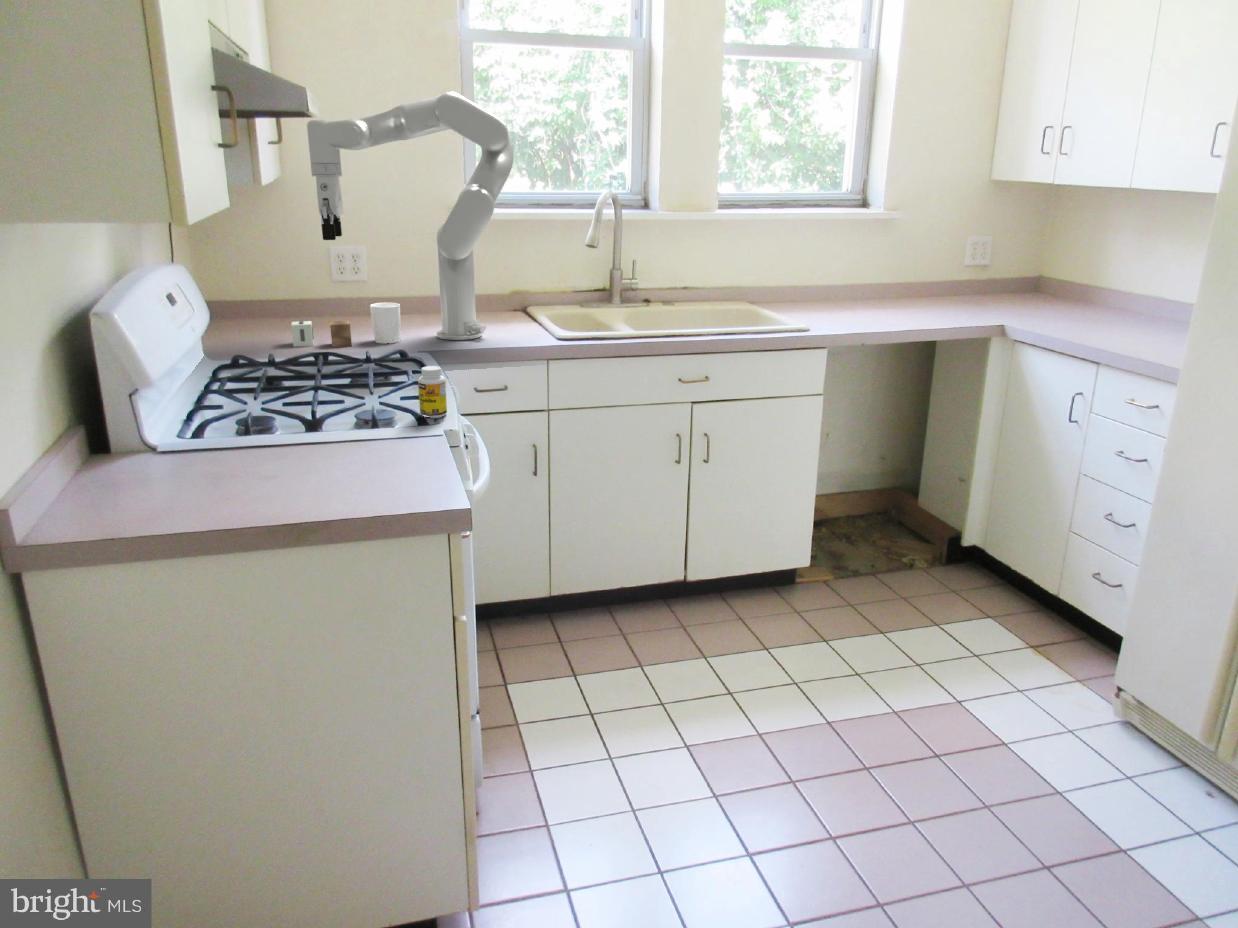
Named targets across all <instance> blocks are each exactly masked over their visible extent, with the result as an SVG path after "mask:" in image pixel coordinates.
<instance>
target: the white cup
mask: <svg viewBox="0 0 1238 928" xmlns="http://www.w3.org/2000/svg"><path fill="white" fill-rule="evenodd" d="M369 308H370V316H371V325H372V331H373V333H374V334H373V336H374V342H375V343H377V344H383V345H384V344H387V343H389V344H395V343H399V342H400V341H401V304H400V303H399V302H388V301H387V302H376V303H372V304H370V305H369ZM387 345H388V344H387Z"/></svg>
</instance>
